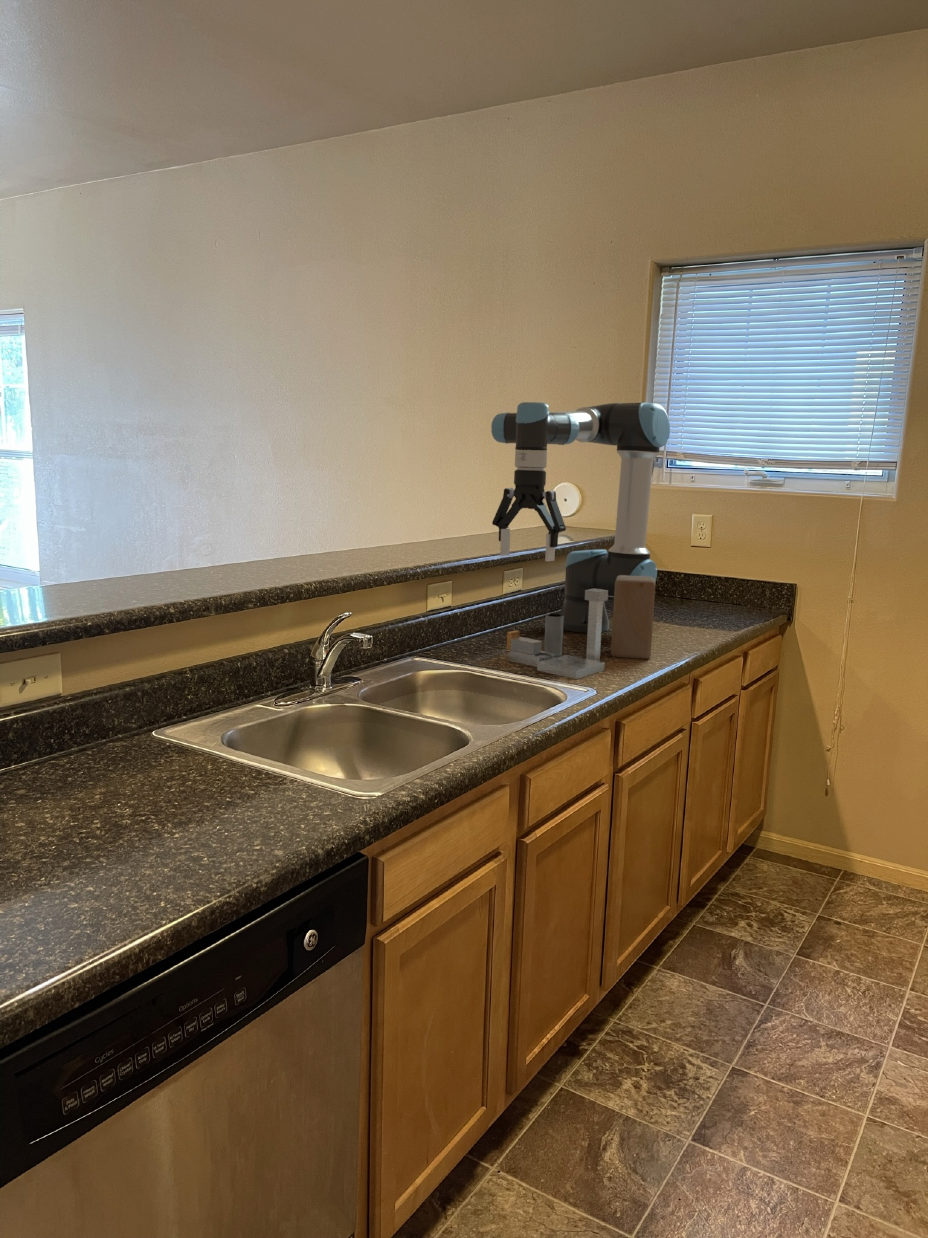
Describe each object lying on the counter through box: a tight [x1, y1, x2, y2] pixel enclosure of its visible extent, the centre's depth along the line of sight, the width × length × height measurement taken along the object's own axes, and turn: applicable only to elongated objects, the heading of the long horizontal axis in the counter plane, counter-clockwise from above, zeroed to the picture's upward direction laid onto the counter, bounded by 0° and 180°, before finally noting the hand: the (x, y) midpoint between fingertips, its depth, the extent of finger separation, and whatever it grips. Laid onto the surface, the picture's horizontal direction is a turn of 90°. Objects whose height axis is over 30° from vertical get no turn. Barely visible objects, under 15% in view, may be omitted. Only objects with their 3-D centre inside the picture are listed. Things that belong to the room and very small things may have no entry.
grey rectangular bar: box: [506, 630, 543, 655], centre depth 226 cm, size 3×8×4 cm, turn 49°
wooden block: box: [610, 575, 656, 660], centre depth 235 cm, size 10×10×20 cm
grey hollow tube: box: [543, 612, 564, 657], centre depth 233 cm, size 4×4×10 cm
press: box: [509, 588, 609, 680], centre depth 222 cm, size 18×22×18 cm
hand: (526, 558), depth 221 cm, fingers open, 13 cm apart
